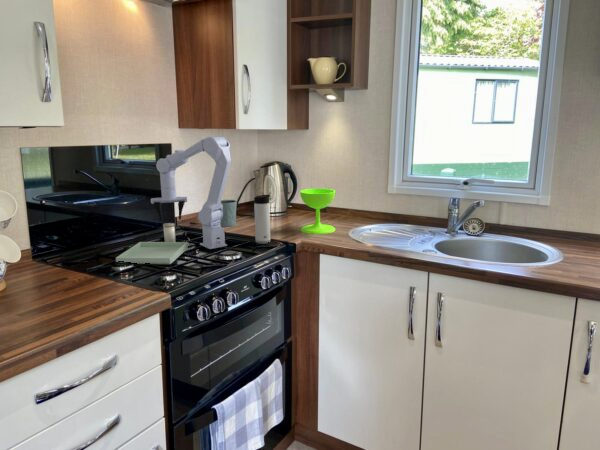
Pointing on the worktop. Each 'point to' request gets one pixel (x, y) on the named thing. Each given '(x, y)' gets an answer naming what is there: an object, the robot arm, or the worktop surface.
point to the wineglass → (317, 208)
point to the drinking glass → (228, 213)
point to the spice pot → (169, 232)
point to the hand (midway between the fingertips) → (170, 219)
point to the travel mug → (262, 219)
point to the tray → (153, 252)
